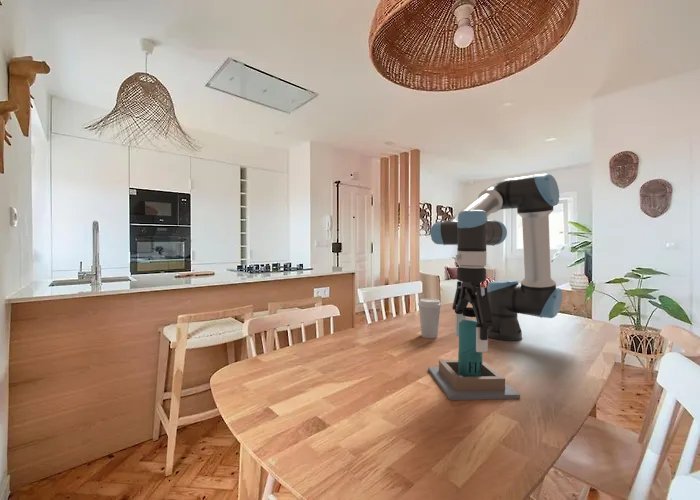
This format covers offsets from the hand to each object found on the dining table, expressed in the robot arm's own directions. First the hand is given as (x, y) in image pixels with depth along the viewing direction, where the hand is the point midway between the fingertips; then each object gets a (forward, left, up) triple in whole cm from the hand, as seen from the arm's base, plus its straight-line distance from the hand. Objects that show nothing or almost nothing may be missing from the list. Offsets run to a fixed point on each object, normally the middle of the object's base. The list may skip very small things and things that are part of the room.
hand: (470, 343), depth 87 cm
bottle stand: (0, 0, -11) cm, 11 cm away
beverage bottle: (0, 0, -10) cm, 10 cm away
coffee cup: (-2, -43, -11) cm, 45 cm away
